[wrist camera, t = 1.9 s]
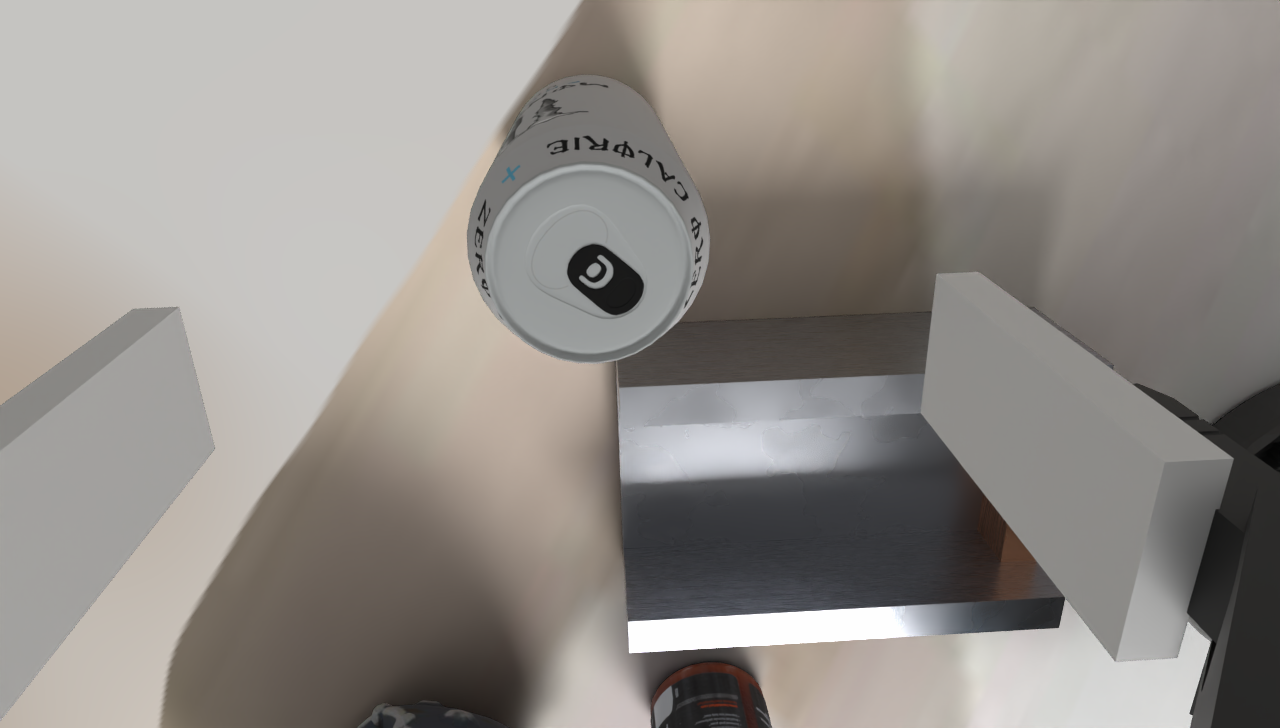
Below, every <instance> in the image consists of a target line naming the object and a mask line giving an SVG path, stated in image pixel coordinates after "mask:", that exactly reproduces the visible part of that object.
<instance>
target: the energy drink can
mask: <svg viewBox="0 0 1280 728" xmlns="http://www.w3.org/2000/svg"><path fill="white" fill-rule="evenodd" d="M467 247H468V259H469V263H470V267H471V271H472V275H473V279H474V281H475V283H476V286H477V288H478V290H479V292H480V294H481V296H482V298H483V300H484V302H485V303H486V304H487V306H488V307H489V308H490V310H491V311H492V312H493V314H494V315H495V317H496V318H497V319H498V320H499V321H500V322H501V323H502V324H503V325H505V326H506V327H507V328H508V329H509V330H510V331H511V332H512V333H513V334H515V335H516V336H518V337H519V338H520V339H521V340H523V341H524V342H525V343H527V344H528V345H530V346H531V347H533V348H535V349H536V350H538V351H539V352H541V353H544V354H546V355H549V356H551V357H554V358H556V359H559V360H564V361H569V362H574V363H592V364H598V363H604V362H610V361H616V360H619V359H622V358H625V357H628V356H631V355H633V354H636V353H638V352H639V351H641V350H643V349H644V348H646V347H648V346H649V345H651V344H653V343H654V342H655V341H656V340H657V339H658V338H660V337H661V336H663V335H664V334H665V333H666V332H667V331H668V330H669V329H671V328H672V327H673V326H674V325H675V324H676V323H677V322H679V320H680V319H681V318H682V316H683V315H684V314H685V313H686V311H687V310H688V309H689V307H690V306H691V305H692V303H693V301H694V300H695V298H696V296H697V294H698V292H699V290H700V288H701V286H702V284H703V280H704V277H705V273H706V269H707V266H708V262H709V249H710V233H709V226H708V218H707V214H706V211H705V208H704V205H703V202H702V199H701V196H700V194H699V192H698V190H697V188H696V186H695V184H694V182H693V181H692V179H691V177H690V175H689V173H688V171H687V170H686V168H685V166H684V164H683V162H682V160H681V158H680V157H679V155H678V153H677V151H676V149H675V147H674V146H673V144H672V142H671V140H670V138H669V136H668V134H667V133H666V131H665V129H664V127H663V125H662V123H661V122H660V120H659V118H658V116H657V115H656V113H655V111H654V110H653V108H652V107H651V106H650V105H649V103H648V102H647V101H646V100H645V99H644V98H643V97H642V96H641V95H640V94H639V93H637V92H636V91H635V90H633V89H632V88H631V87H629V86H628V85H626V84H623V83H621V82H619V81H617V80H615V79H612V78H608V77H604V76H600V75H576V76H570V77H565V78H563V79H560V80H558V81H555V82H553V83H550V84H549V85H547V86H546V87H544V88H543V89H541V90H540V91H538V92H537V93H536V94H535V95H534V96H533V97H532V98H531V99H530V100H529V101H528V102H527V103H526V104H525V106H524V107H523V109H522V110H521V112H520V113H519V115H518V116H517V118H516V120H515V122H514V124H513V126H512V128H511V130H510V131H509V133H508V135H507V137H506V139H505V141H504V143H503V145H502V146H501V148H500V150H499V152H498V154H497V156H496V158H495V160H494V162H493V163H492V165H491V167H490V169H489V171H488V173H487V175H486V177H485V178H484V180H483V182H482V184H481V186H480V188H479V190H478V193H477V196H476V198H475V201H474V203H473V206H472V208H471V212H470V218H469V224H468V230H467Z"/></svg>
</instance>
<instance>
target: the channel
mask: <svg viewBox="0 0 1280 728" xmlns="http://www.w3.org/2000/svg"><path fill="white" fill-rule="evenodd" d="M1029 309H1031V310H1032V311H1033V312H1035V313H1036V314H1037V315H1039V316H1040V317H1041V318H1043V319H1044V320H1046V321H1047V322H1048V323H1050V324H1051V325H1052V326H1054V327H1055V328H1056V329H1058V330H1059V331H1061V332H1062V333H1063V334H1065V335H1066V336H1067V337H1069V338H1070V339H1071V340H1073V341H1074V342H1076V343H1077V344H1078V345H1080V346H1081V347H1082V348H1084V349H1085V350H1086V351H1088V352H1089V353H1091V354H1092V355H1093V356H1095V357H1096V358H1097V359H1099V360H1100V361H1101V362H1103V363H1104V364H1106V365H1107V366H1108V367H1110V368H1111V369H1112V370H1113V366H1114V365H1113V364H1112V363H1110V362H1109V361H1108V360H1106V359H1105V358H1103V357H1102V356H1101V355H1099V354H1098V353H1096V352H1095V351H1094V350H1092V349H1091V348H1089V347H1088V346H1087V345H1085V344H1084V343H1083V342H1081V341H1080V340H1078V339H1077V338H1076V337H1074V336H1073V335H1071V334H1070V333H1069V332H1067V331H1066V330H1064V329H1063V328H1062V327H1060V326H1059V325H1058V324H1056V323H1055V322H1053V321H1052V320H1051V319H1049V318H1048V317H1046V316H1045V315H1044V314H1042V313H1041V312H1039V311H1038V310H1037V309H1035V308H1034V307H1032V308H1029ZM931 317H932V312H917V313H893V314H870V315H847V316H824V317H801V318H778V319H755V320H732V321H709V322H685V323H676V324H675V325H674V326H673V327H672V328H671V329H669V330H668V331H667V332H666V333H665V334H664V335H663V336H661V337H660V338H658V339H657V340H656V341H655V342H654V343H653V344H651V345H649V346H648V347H646V348H644V349H643V350H641V351H639V352H638V353H636V354H633V355H631V356H628V357H625V358H622V359H619V360H616V385H617V410H618V436H619V461H620V487H621V512H622V538H623V562H624V578H625V594H626V610H627V626H628V641H629V653H638V652H655V651H672V650H689V649H706V648H723V647H740V646H757V645H774V644H791V643H809V642H826V641H843V640H860V639H877V638H894V637H911V636H928V635H945V634H962V633H979V632H996V631H1013V630H1030V629H1047V628H1059V625H1060V620H1061V615H1062V611H1063V606H1064V601H1065V597H1064V595H1063V594H1062V593H1061V592H1060V590H1059V589H1058V588H1057V587H1056V585H1055V584H1054V583H1053V581H1052V580H1051V579H1050V578H1049V576H1048V575H1047V574H1046V572H1045V571H1044V570H1043V569H1042V567H1041V566H1040V565H1039V564H1038V562H1037V561H1036V560H1035V558H1034V557H1033V556H1032V555H1031V553H1030V552H1029V551H1028V549H1027V548H1026V547H1025V546H1024V544H1023V543H1022V542H1021V541H1020V539H1019V538H1018V537H1017V535H1016V534H1015V533H1014V532H1013V530H1012V529H1011V528H1010V526H1009V525H1008V524H1007V523H1006V521H1005V520H1004V519H1003V518H1002V516H1001V515H1000V514H999V512H998V511H997V510H996V509H995V507H994V506H993V505H992V503H991V502H990V501H989V500H988V498H987V497H986V496H985V495H984V493H983V492H982V491H981V489H980V488H979V487H978V486H977V484H976V483H975V482H974V480H973V479H972V478H971V477H970V475H969V474H968V473H967V472H966V470H965V469H964V468H963V466H962V465H961V464H960V463H959V461H958V460H957V459H956V457H955V456H954V455H953V454H952V452H951V451H950V450H949V449H948V447H947V446H946V445H945V443H944V442H943V441H942V440H941V438H940V437H939V436H938V434H937V433H936V432H935V431H934V429H933V428H932V427H931V425H930V424H929V423H928V422H927V420H926V419H925V418H924V417H923V415H922V414H921V404H922V395H923V386H924V378H925V369H926V360H927V352H928V343H929V334H930V326H931Z"/></svg>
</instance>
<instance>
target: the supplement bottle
mask: <svg viewBox="0 0 1280 728" xmlns="http://www.w3.org/2000/svg"><path fill="white" fill-rule="evenodd" d="M651 728H772V726H771V722H770V718H769V714H768V710H767V706H766V702H765V700H764V697H763V694H762V691H761V689H760V687H759V685H758V683H757V682H756V681H755V680H754V679H753V677H751V676H750V675H749V674H748V673H746V672H745V671H743V670H741V669H739V668H737V667H735V666H732V665H730V664H725V663H717V662H707V663H699V664H694V665H690V666H687V667H685V668H682V669H681V670H679V671H677V672H675V673H673V674H672V675H671V676H669V677H668V678H667V679H666V680H665V681H664V682H663V683H662V684H661V685H660V686H659V688H658V689H657V691H656V693H655V695H654V696H653V700H652V704H651Z"/></svg>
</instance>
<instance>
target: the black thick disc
mask: <svg viewBox="0 0 1280 728" xmlns="http://www.w3.org/2000/svg"><path fill="white" fill-rule="evenodd" d="M357 728H510V727H508V726H506V725H504V724H502V723H500V722H497V721H495V720H493V719H491V718H488V717H484V716H481V715H478V714H474V713H471V712H467V711H464V710H460V709H456V708H448V707H444V706H443V705H442V704H440V703H439V702H436V701H420V702H418V703H416V704H414V705H401V706H391V705H389V704H387V703H383V704H379V705H377V706H376V707H375V708H374V710H373V713H372V715H371V716H370V717H369V718H367V719H366V720H365V721H364V722H363V723H361V724H360V725H359V726H358V727H357Z"/></svg>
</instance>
